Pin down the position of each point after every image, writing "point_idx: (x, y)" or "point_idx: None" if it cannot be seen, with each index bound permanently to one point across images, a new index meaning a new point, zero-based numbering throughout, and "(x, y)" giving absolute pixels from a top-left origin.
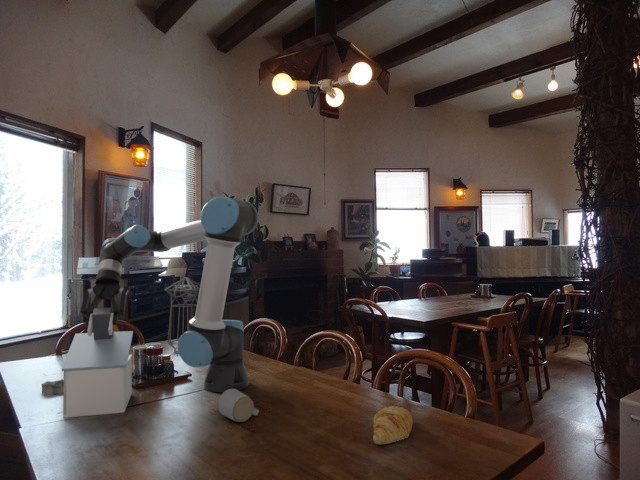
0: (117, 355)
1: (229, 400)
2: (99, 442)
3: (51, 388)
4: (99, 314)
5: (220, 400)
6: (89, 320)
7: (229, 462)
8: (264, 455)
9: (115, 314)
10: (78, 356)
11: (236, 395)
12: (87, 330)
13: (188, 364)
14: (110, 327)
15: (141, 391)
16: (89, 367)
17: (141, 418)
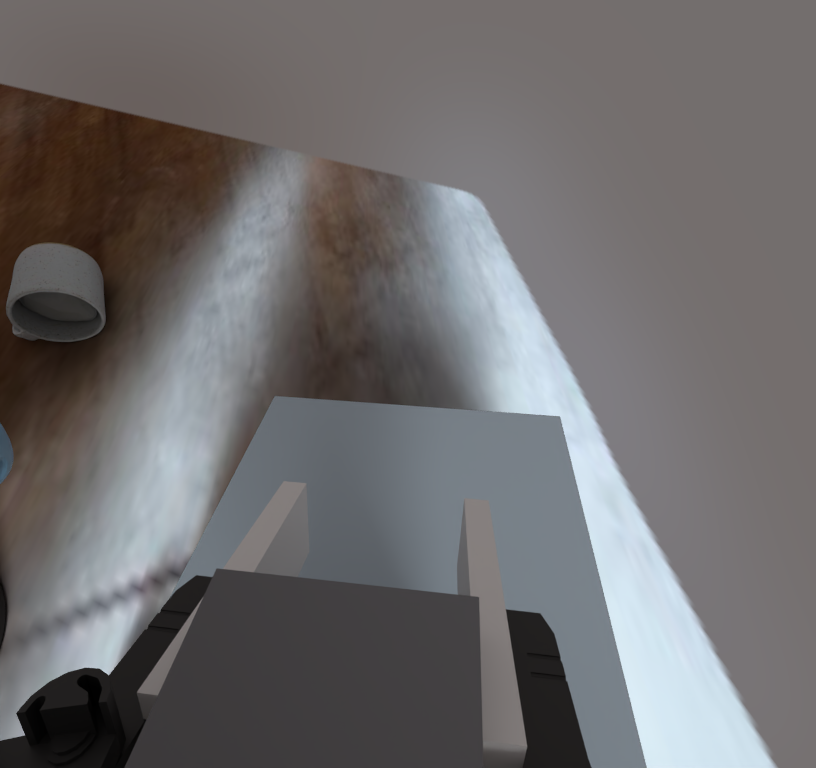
0: (298, 463)
1: (70, 261)
2: (389, 279)
3: None
4: (364, 587)
5: (82, 291)
6: (502, 611)
7: (196, 157)
8: (139, 162)
9: (121, 699)
10: (510, 494)
11: (42, 254)
12: (488, 506)
13: (11, 445)
14: (279, 497)
15: None
16: (435, 408)
17: (290, 391)
